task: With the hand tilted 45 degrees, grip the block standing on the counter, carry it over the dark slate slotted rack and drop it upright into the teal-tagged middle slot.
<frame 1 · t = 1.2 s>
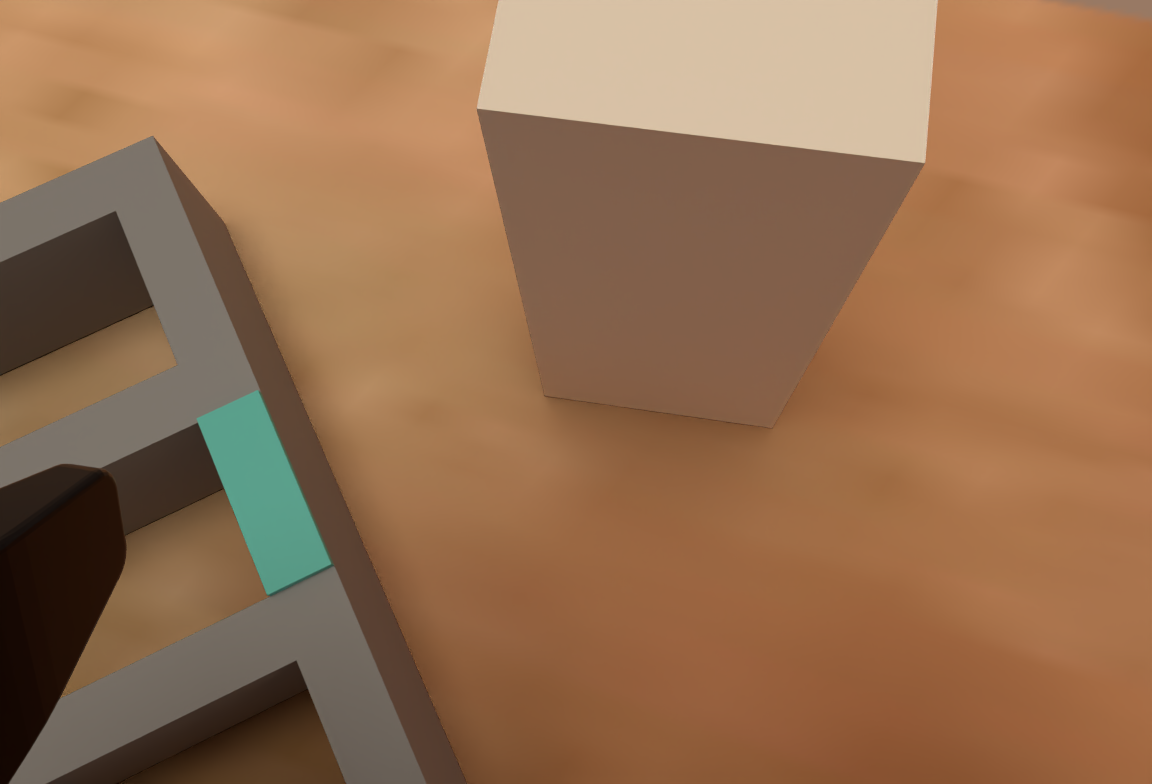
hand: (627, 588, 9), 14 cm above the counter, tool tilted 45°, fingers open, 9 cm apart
block: (665, 357, 24), on the counter
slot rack: (156, 607, 23), on the counter
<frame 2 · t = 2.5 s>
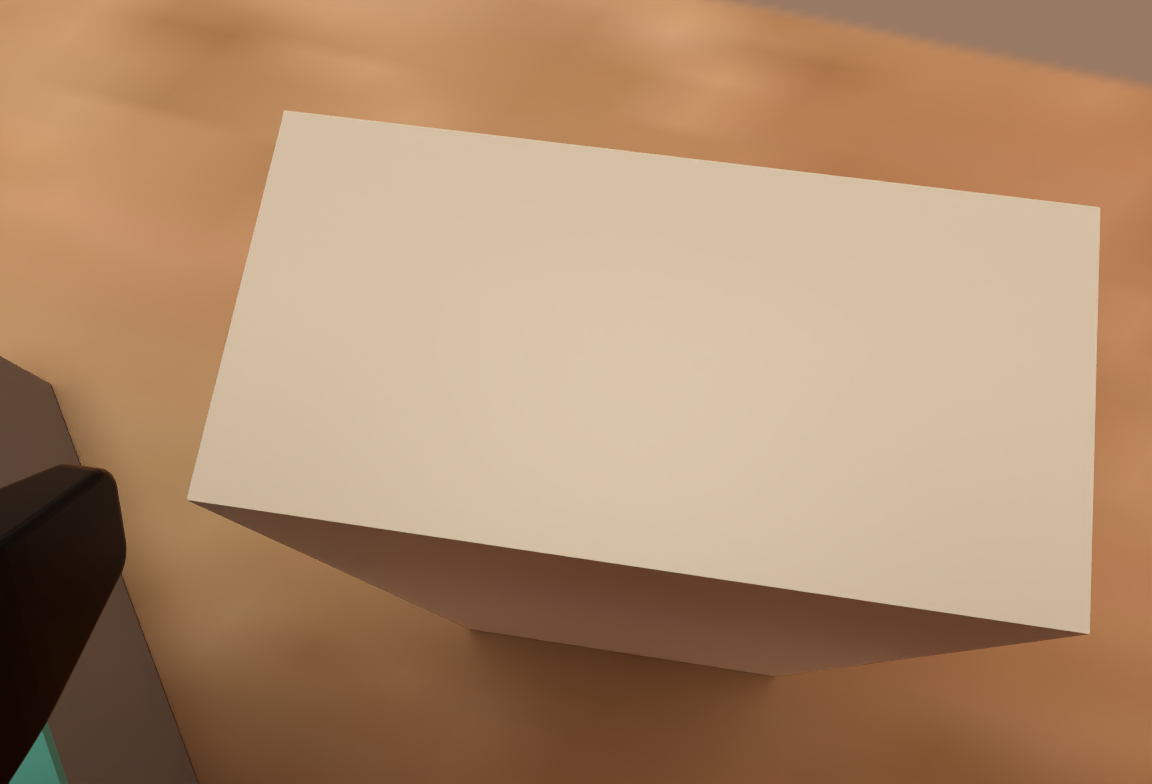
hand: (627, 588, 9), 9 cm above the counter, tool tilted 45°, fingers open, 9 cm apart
block: (630, 575, 18), on the counter
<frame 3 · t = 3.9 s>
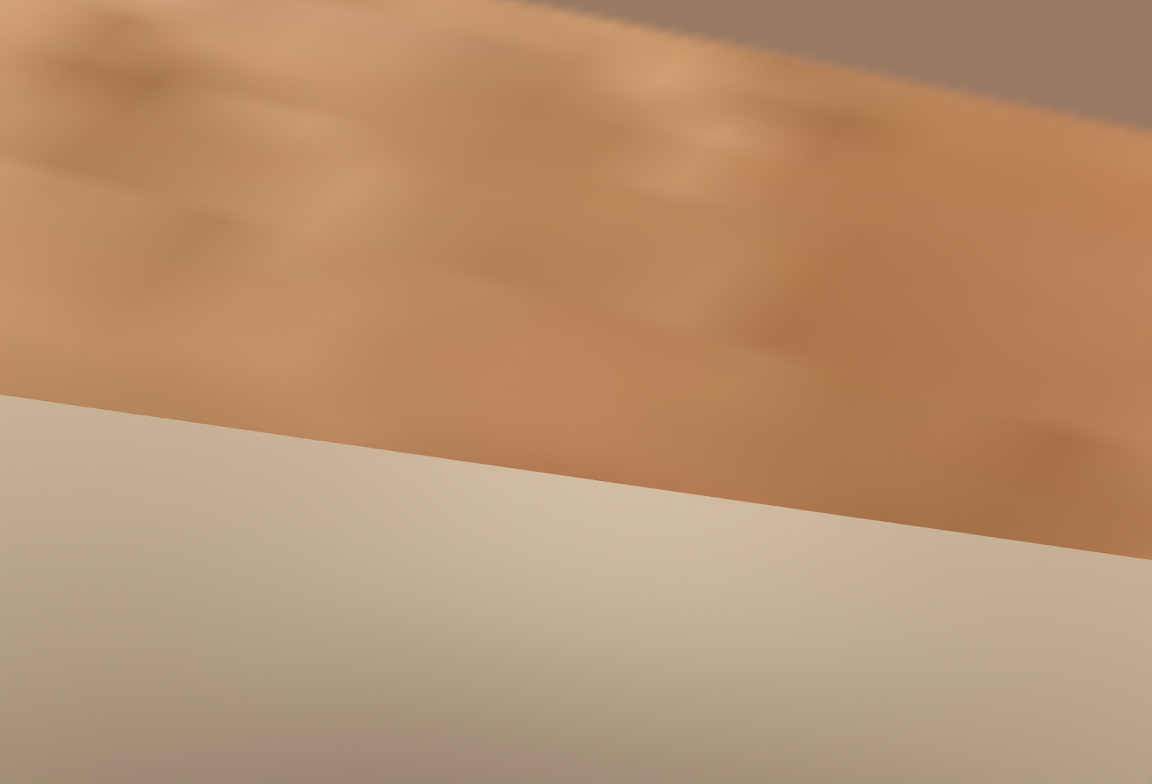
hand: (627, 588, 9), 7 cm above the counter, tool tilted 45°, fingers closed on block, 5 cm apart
block: (608, 732, 15), on the counter, touching gripper
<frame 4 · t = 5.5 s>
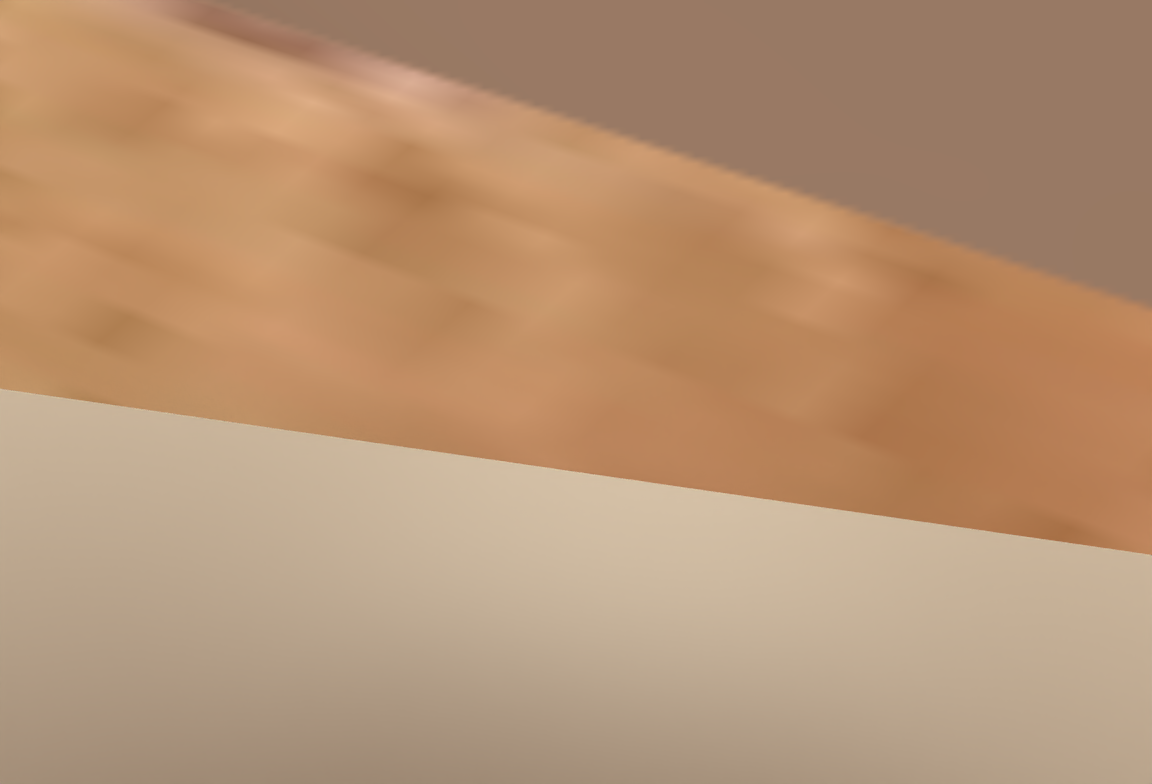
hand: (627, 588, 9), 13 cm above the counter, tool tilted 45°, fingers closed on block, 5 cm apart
block: (610, 731, 15), point 7 cm above the counter, touching gripper
when the fingers open (11 cm above the counter, at t = 7.3 s): block drops 4 cm, resting in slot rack.
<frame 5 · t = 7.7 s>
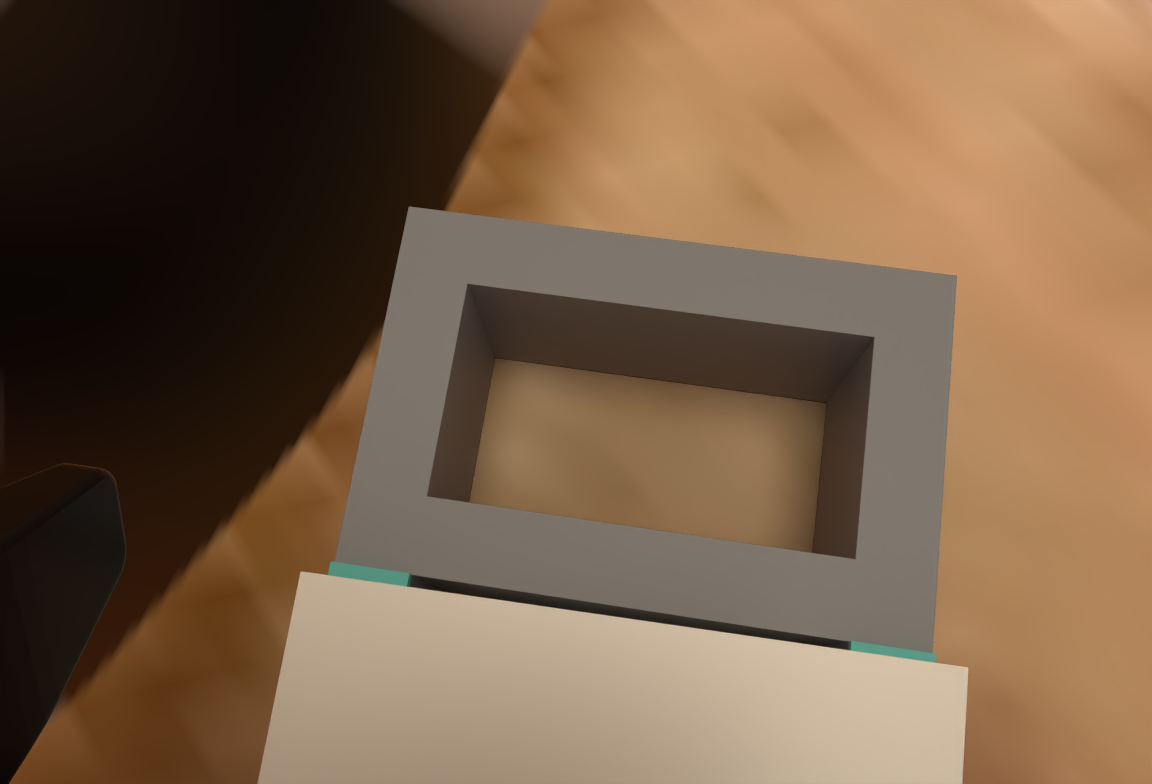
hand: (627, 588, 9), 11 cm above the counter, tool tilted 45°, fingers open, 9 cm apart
block: (614, 720, 19), resting in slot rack
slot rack: (611, 722, 19), on the counter
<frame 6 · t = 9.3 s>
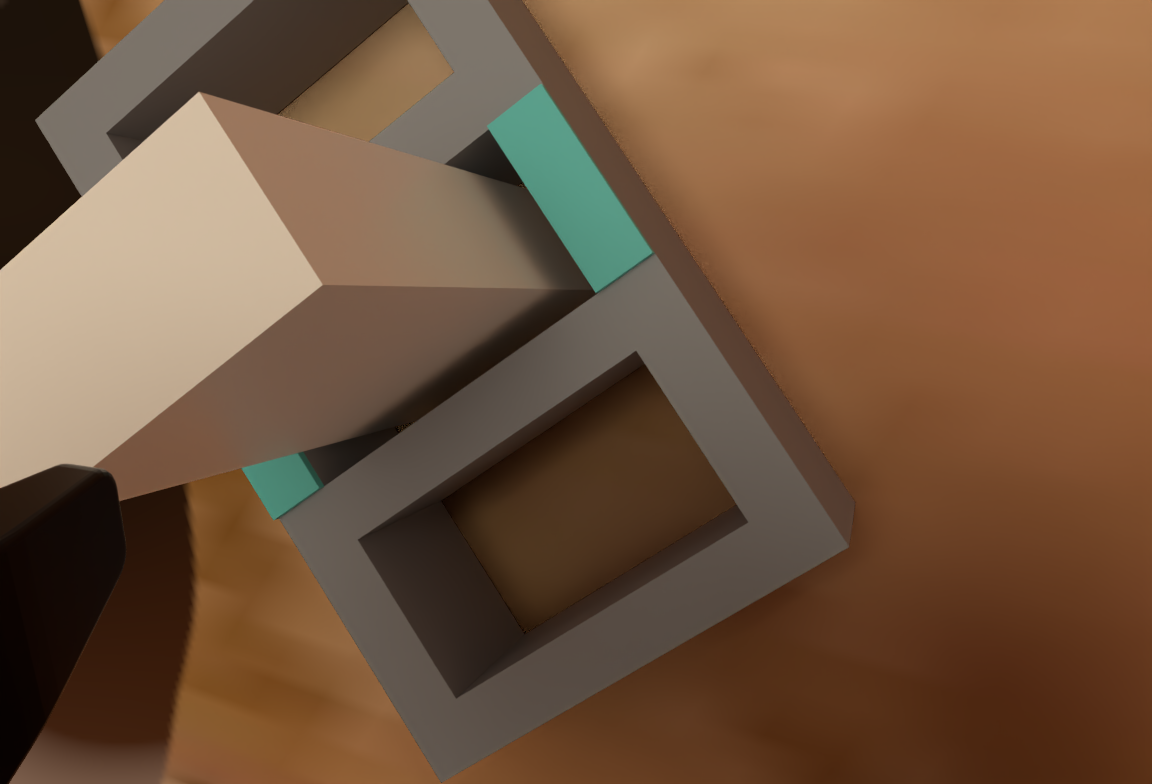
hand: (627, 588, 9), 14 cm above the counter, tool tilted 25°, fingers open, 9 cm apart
block: (483, 308, 24), resting in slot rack
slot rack: (482, 310, 24), on the counter
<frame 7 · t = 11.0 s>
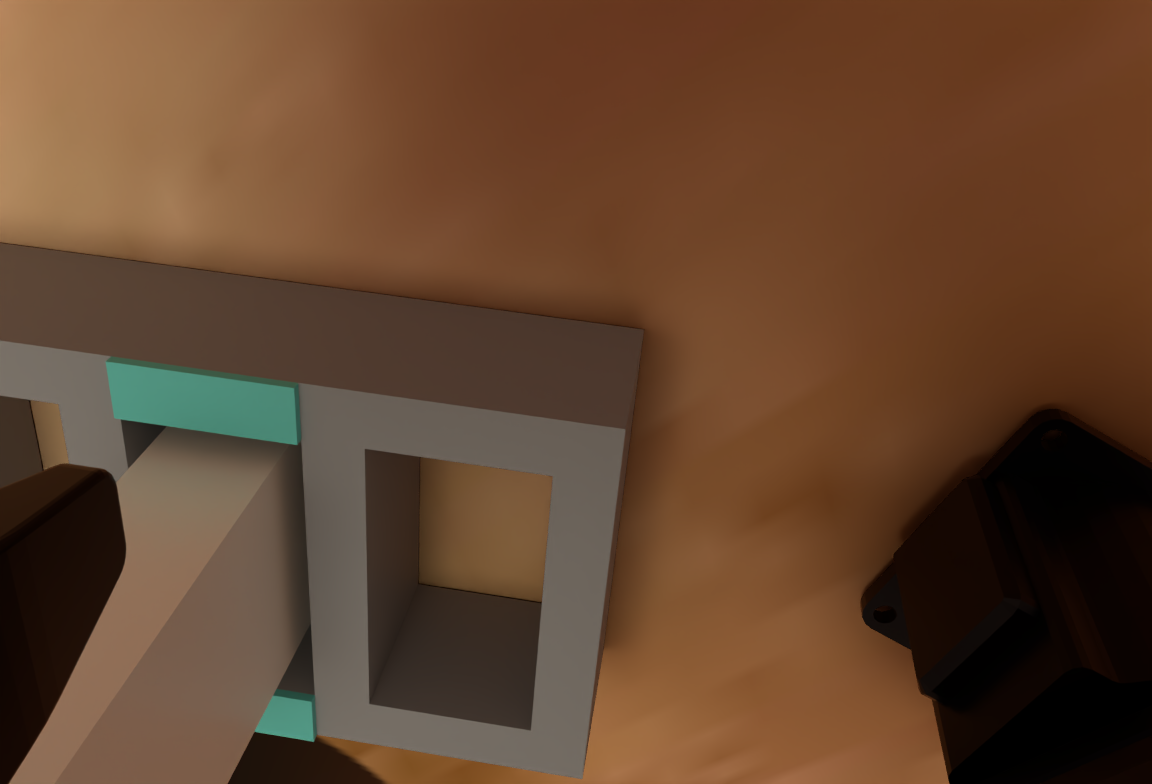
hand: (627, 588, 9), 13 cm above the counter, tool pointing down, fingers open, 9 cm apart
block: (294, 454, 25), resting in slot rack
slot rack: (295, 456, 25), on the counter
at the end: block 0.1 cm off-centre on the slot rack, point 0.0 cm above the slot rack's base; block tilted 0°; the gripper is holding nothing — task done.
